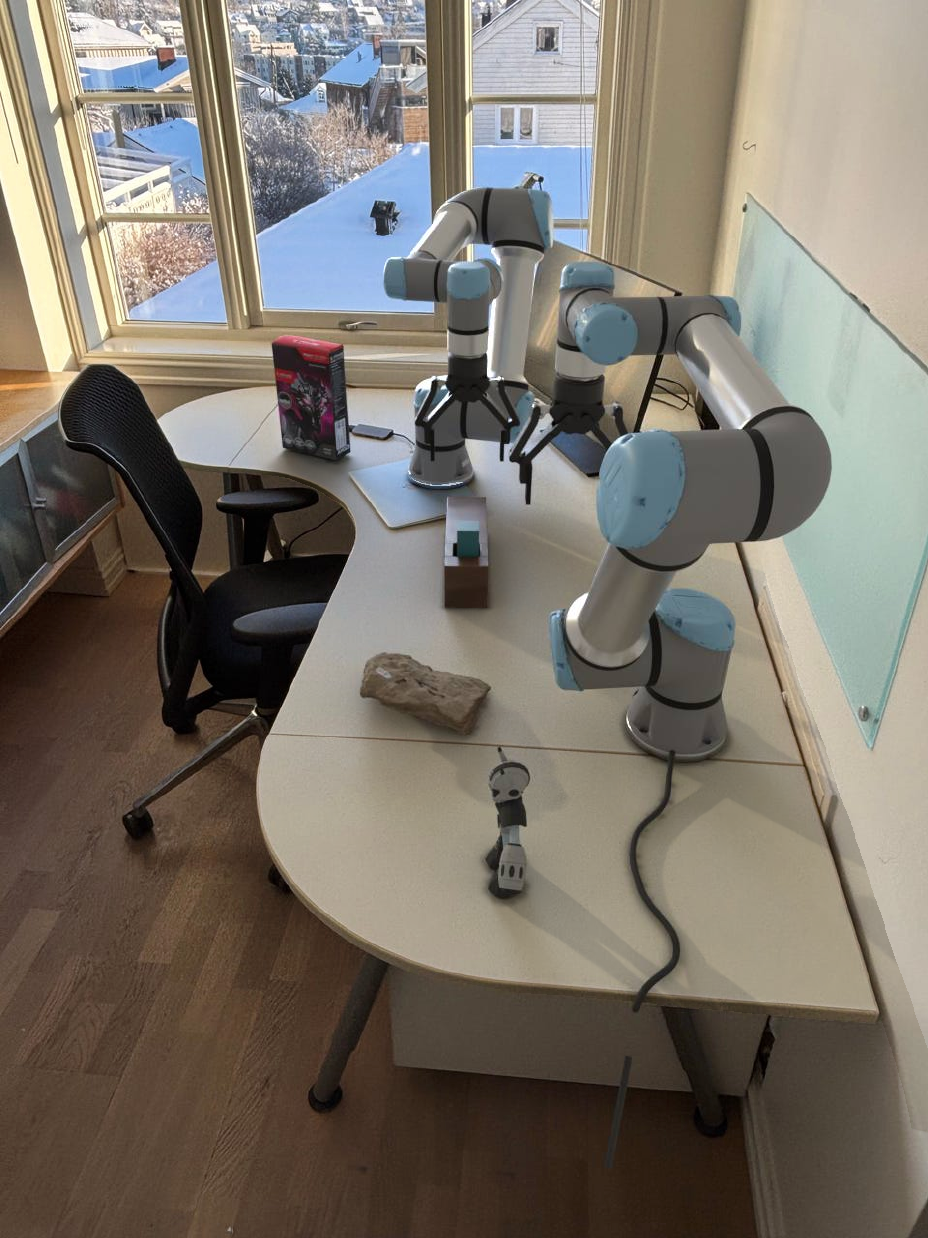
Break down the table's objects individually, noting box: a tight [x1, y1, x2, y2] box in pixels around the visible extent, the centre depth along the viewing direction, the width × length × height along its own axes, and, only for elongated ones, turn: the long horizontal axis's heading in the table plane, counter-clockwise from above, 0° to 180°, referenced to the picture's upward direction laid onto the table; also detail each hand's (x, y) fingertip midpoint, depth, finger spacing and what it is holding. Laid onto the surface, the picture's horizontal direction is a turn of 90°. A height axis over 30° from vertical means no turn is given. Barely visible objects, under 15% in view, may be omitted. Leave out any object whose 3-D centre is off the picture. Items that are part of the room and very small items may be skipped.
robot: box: [485, 746, 531, 899], centre depth 114 cm, size 20×5×20 cm, turn 3°
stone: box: [359, 651, 492, 735], centre depth 146 cm, size 21×15×6 cm
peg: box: [457, 521, 479, 557], centre depth 173 cm, size 4×4×14 cm
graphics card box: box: [271, 334, 351, 461], centre depth 223 cm, size 17×7×27 cm, turn 62°
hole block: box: [443, 496, 490, 609], centre depth 181 cm, size 28×8×9 cm, turn 0°
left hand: (467, 458), depth 182 cm, fingers open, 13 cm apart
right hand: (569, 501), depth 149 cm, fingers open, 13 cm apart
